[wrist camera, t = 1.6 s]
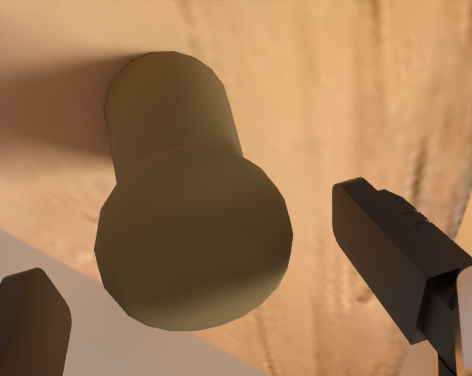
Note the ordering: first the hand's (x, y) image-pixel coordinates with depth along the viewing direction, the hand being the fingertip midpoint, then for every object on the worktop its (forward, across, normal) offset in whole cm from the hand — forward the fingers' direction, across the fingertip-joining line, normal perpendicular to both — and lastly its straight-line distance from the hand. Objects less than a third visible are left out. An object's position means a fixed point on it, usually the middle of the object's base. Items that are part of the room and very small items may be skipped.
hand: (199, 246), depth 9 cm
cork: (+10, 0, 0) cm, 10 cm away
